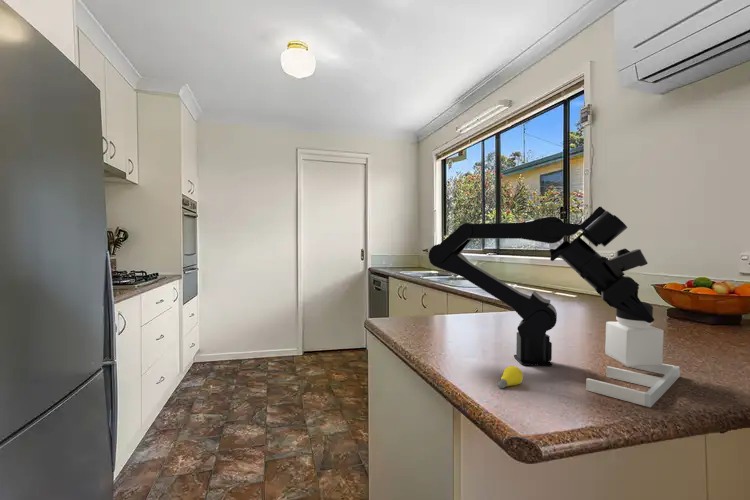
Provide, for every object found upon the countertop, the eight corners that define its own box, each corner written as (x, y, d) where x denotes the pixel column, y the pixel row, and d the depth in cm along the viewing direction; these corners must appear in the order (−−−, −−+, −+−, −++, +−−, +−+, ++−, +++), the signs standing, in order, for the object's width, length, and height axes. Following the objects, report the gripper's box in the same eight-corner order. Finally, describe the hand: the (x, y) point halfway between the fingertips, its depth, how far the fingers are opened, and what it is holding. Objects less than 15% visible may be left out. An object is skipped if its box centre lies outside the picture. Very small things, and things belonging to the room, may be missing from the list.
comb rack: (650, 407, 60) (650, 395, 60) (586, 390, 67) (586, 379, 67) (679, 376, 75) (679, 366, 75) (624, 365, 82) (624, 356, 82)
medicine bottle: (663, 366, 72) (665, 305, 72) (626, 366, 72) (628, 305, 72) (638, 354, 79) (639, 298, 79) (604, 354, 80) (606, 298, 79)
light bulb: (525, 383, 71) (527, 368, 69) (506, 399, 67) (508, 384, 66) (509, 373, 73) (511, 359, 72) (490, 388, 70) (492, 373, 68)
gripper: (625, 233, 68) (701, 298, 63) (613, 236, 85) (672, 287, 80) (576, 274, 72) (644, 338, 67) (573, 269, 89) (628, 320, 84)
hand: (648, 318), depth 74 cm, fingers closed on medicine bottle, 6 cm apart
